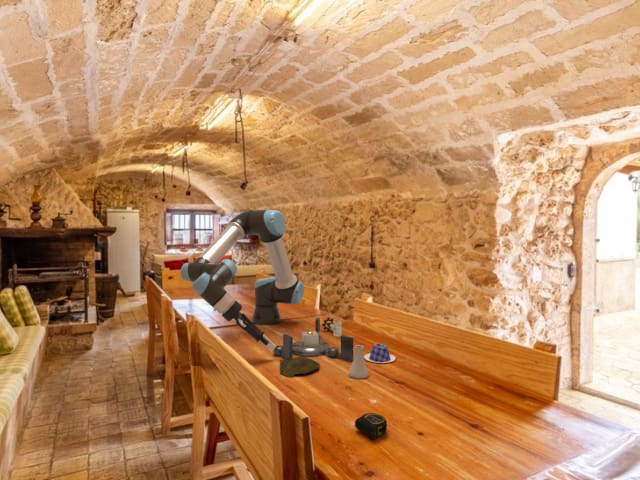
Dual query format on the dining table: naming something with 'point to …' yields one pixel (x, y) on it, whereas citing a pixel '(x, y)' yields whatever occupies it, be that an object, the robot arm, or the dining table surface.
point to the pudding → (379, 354)
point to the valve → (333, 327)
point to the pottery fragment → (297, 366)
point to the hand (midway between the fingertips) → (273, 348)
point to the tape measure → (372, 424)
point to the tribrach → (322, 345)
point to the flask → (358, 364)
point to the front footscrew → (285, 348)
